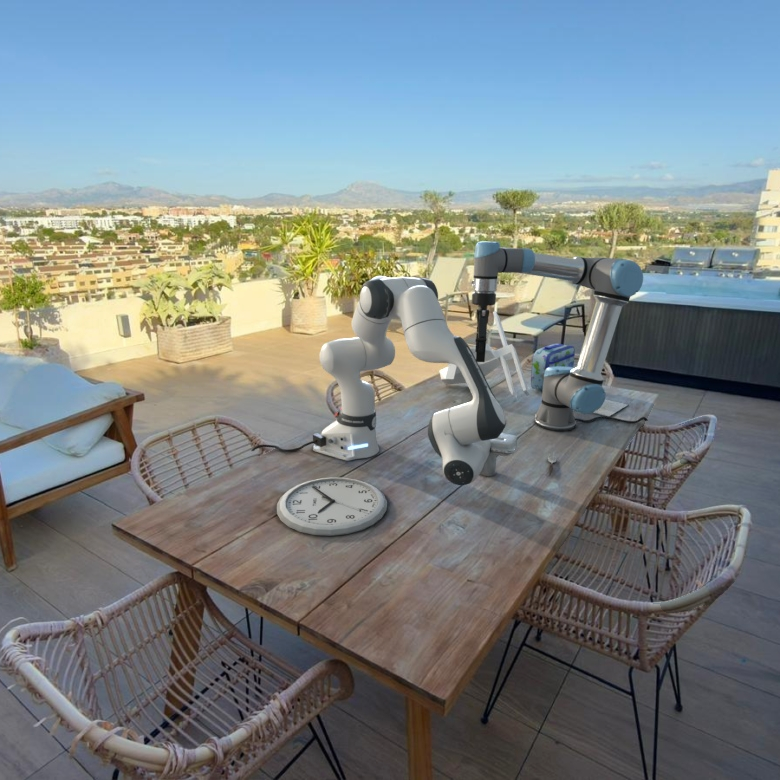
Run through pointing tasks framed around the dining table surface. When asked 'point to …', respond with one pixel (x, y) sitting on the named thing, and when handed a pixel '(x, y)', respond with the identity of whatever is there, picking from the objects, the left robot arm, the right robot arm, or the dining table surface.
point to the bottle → (489, 466)
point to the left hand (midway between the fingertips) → (483, 429)
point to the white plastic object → (490, 363)
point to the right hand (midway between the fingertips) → (479, 356)
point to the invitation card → (610, 408)
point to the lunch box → (550, 361)
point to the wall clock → (331, 506)
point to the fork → (551, 462)
